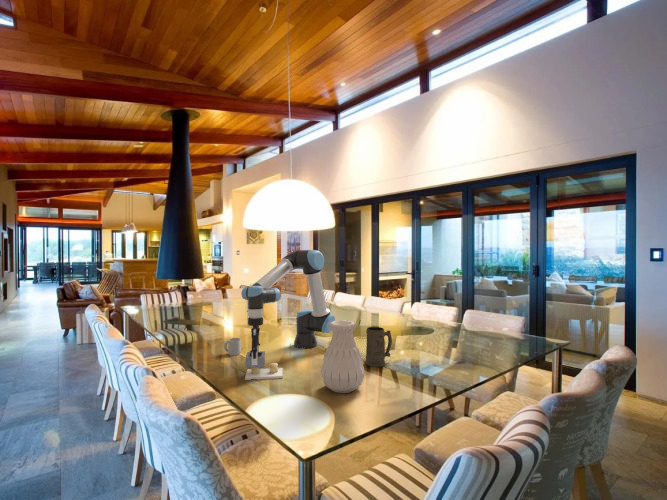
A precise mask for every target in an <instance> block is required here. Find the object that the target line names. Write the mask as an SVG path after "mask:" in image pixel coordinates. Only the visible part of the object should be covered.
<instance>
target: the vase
mask: <svg viewBox="0 0 667 500" xmlns="http://www.w3.org/2000/svg"><path fill="white" fill-rule="evenodd" d="M329 326H330V328H331V329H332V331H331V332H332V336H331V338H330V339H331V340H330V343H329V344H328V346H327V348H326V351H325V353H324V355H323V362H322V365H321V370H320V373H321V378H322V381H323V384H324V385H325V386H326V388H328V389H329V390H330V391H332V392H335V393H338V394H347V393H352V392H353V391H355V390H357V389H358V388H360V386H361V385H362V384H363V380H364V378H365V374H366V371H365V370H366V369H365V368H364V361H363V357H362V354H361V352H360V349H359V347H358V345H357V343H356V341H355V337H354V331H355V330H356V328H357V322H356V321H352V320H344V319H342V320H339V319H337V320H335V321H333V322H330V323H329Z"/></svg>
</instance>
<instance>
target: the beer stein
mask: <svg viewBox="0 0 667 500" xmlns="http://www.w3.org/2000/svg"><path fill="white" fill-rule="evenodd" d="M365 332H366V348H365V349H366V350H365V354H366V355H365V365H367V366H369V367H373V368H374V367H375V368H377V367H383V366H385V365H386V360H385V359H386V357H388V358H391V353H390V350H391V347H392V344H393V338H392V334H391V330H386V331H385V329H384V328H383V327H379V326H368V327H367V328H366V331H365ZM385 336H387V338H388V342H387V347H386V341H385Z"/></svg>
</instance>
